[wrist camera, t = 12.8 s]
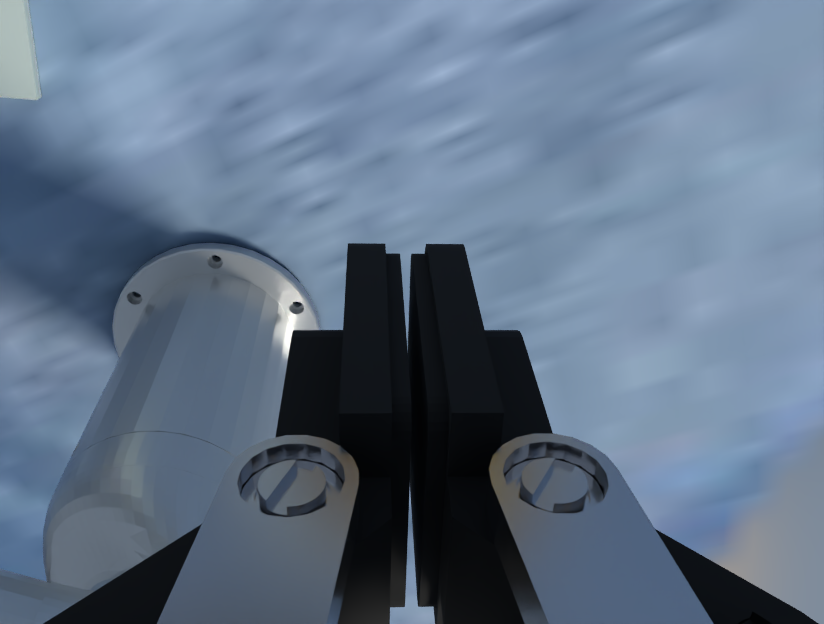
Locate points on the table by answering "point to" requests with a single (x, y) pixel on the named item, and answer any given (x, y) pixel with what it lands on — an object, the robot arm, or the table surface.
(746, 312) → the table surface
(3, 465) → the table surface
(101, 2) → the table surface
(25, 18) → the mat
